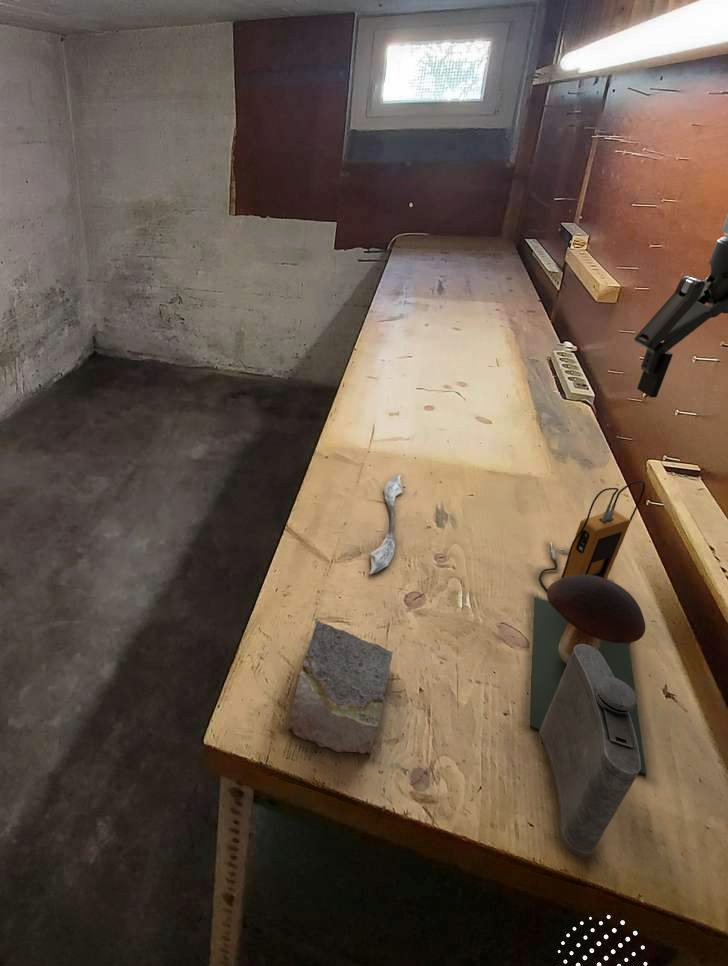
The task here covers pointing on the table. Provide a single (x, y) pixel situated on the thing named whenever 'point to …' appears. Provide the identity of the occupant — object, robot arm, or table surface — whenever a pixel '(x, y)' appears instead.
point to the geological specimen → (340, 691)
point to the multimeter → (597, 541)
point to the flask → (590, 747)
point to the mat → (552, 666)
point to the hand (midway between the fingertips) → (695, 392)
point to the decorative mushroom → (594, 612)
